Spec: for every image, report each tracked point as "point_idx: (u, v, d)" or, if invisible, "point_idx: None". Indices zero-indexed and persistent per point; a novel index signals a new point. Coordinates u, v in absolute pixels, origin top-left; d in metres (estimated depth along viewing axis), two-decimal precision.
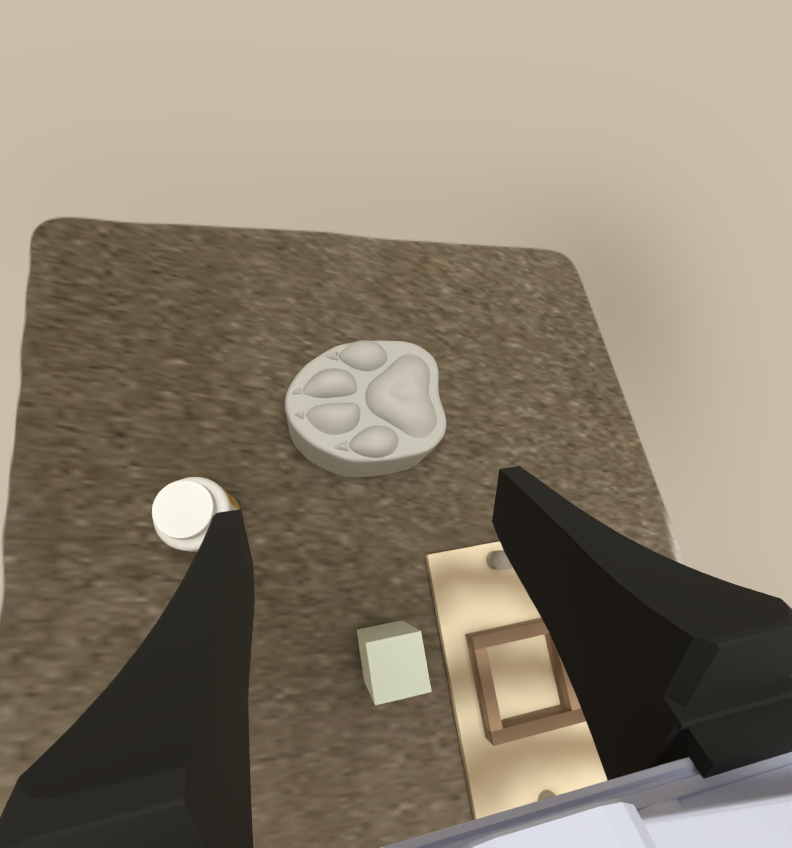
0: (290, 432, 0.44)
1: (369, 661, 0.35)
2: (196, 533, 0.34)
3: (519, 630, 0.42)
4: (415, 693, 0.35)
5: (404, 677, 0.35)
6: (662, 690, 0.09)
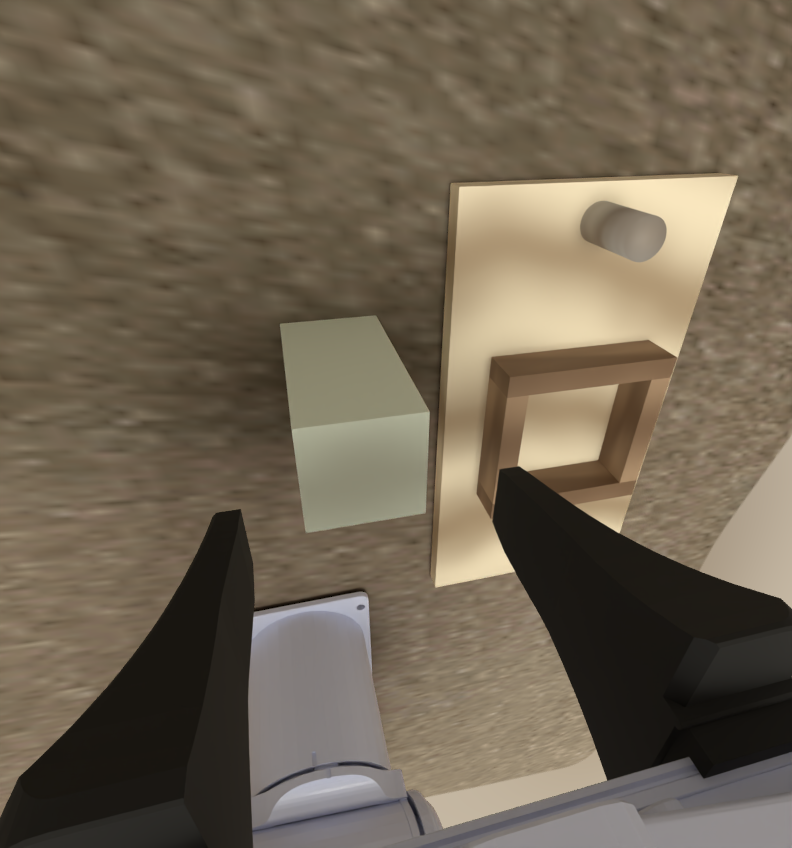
0: None
1: (298, 463, 0.15)
2: None
3: (598, 371, 0.22)
4: (393, 516, 0.17)
5: (376, 491, 0.16)
6: (662, 690, 0.09)
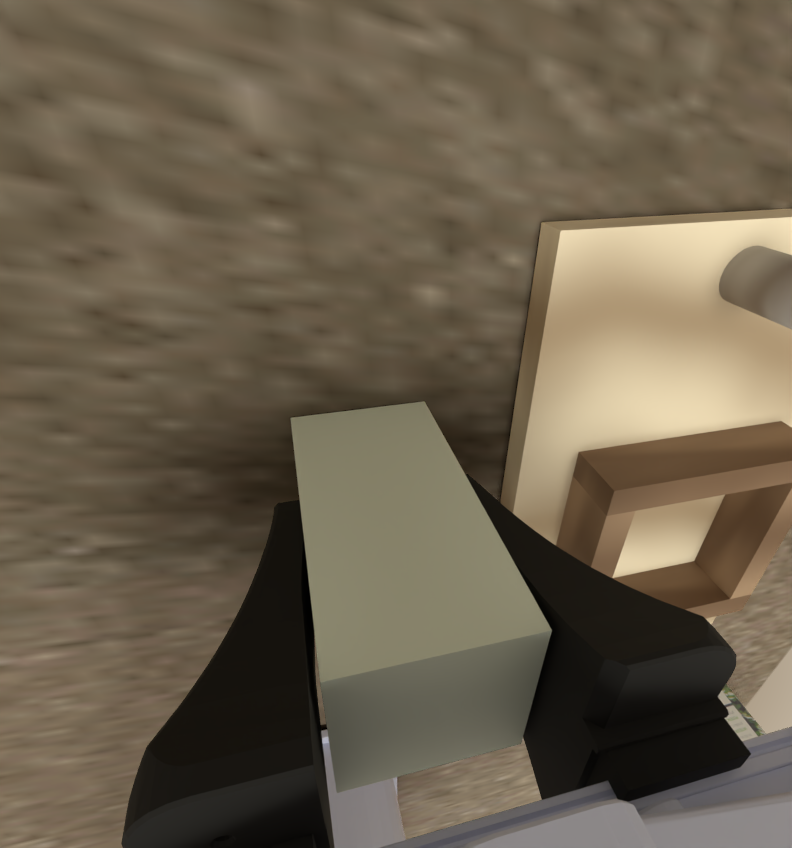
0: None
1: (330, 719, 0.09)
2: None
3: (729, 477, 0.16)
4: (473, 754, 0.11)
5: (451, 732, 0.10)
6: (582, 711, 0.08)
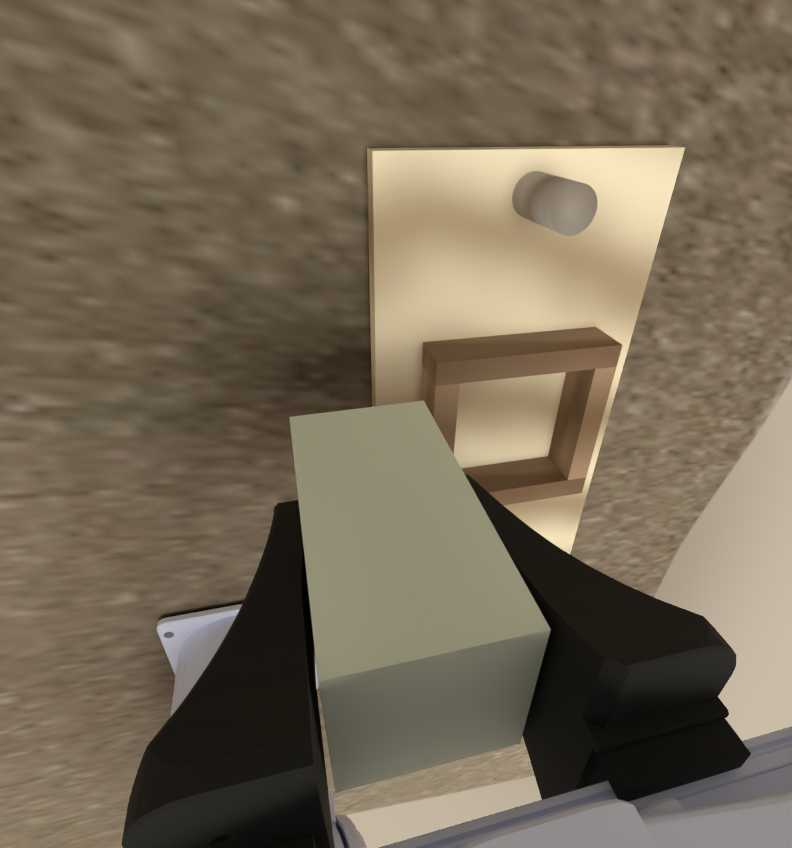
0: None
1: (328, 719, 0.09)
2: None
3: (535, 359, 0.20)
4: (472, 753, 0.11)
5: (450, 731, 0.10)
6: (582, 711, 0.08)
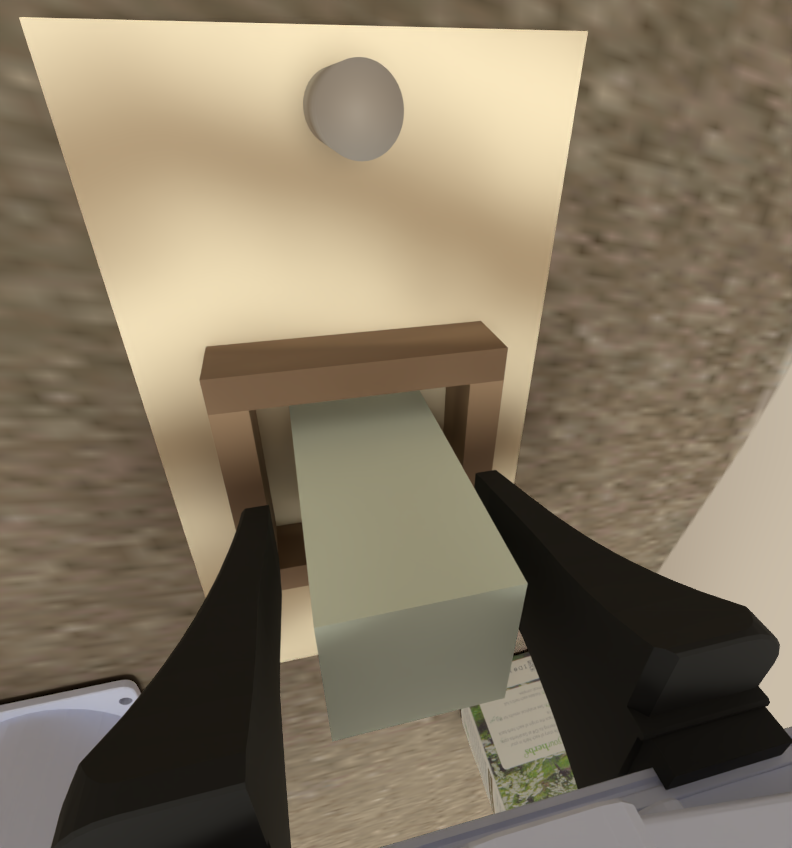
0: None
1: (324, 666, 0.09)
2: None
3: (368, 371, 0.13)
4: (459, 707, 0.11)
5: (437, 683, 0.11)
6: (626, 699, 0.09)
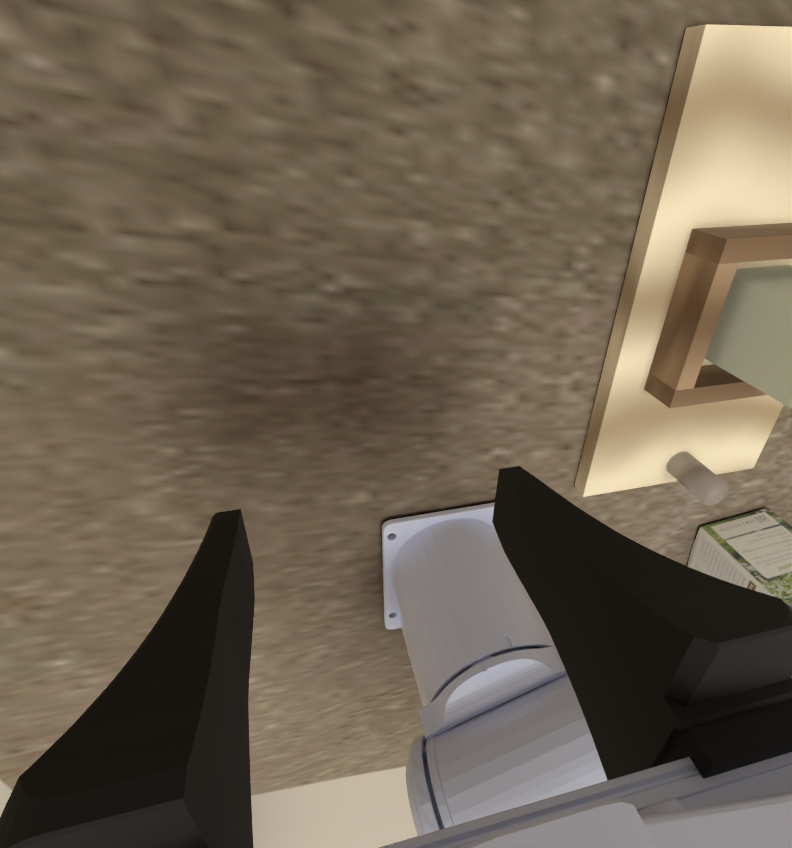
0: None
1: None
2: None
3: None
4: None
5: None
6: (662, 690, 0.09)
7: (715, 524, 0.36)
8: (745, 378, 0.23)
